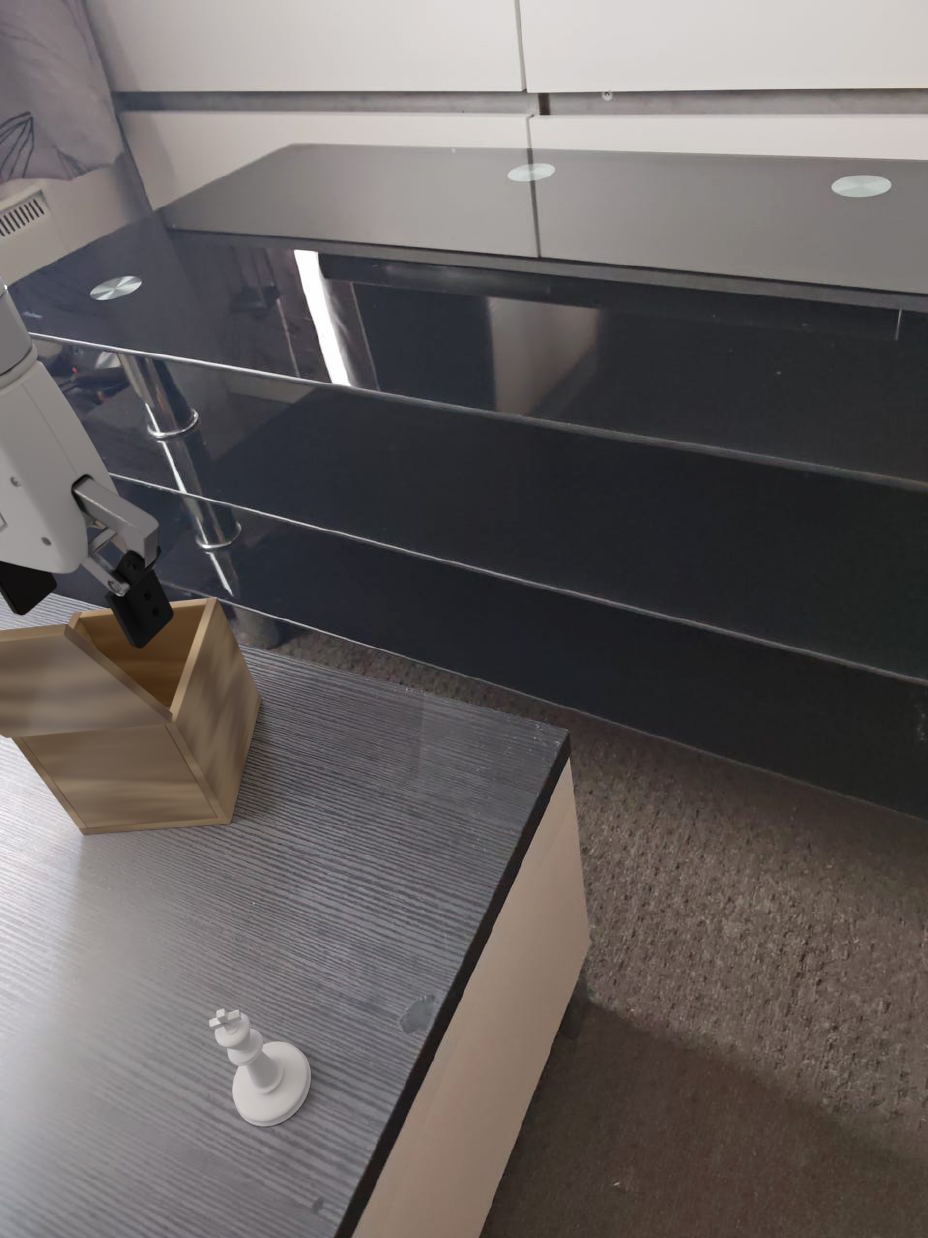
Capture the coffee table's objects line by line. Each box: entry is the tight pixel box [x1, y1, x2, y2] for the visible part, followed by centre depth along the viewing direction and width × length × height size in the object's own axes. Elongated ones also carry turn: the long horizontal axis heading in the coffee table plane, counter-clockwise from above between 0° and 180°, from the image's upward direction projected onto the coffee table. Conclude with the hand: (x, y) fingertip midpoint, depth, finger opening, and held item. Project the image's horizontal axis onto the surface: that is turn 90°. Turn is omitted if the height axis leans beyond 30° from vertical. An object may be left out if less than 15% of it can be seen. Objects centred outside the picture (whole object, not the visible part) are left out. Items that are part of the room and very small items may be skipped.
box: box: [11, 596, 263, 835], centre depth 75 cm, size 14×13×12 cm
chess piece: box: [208, 1008, 312, 1127], centre depth 54 cm, size 5×5×10 cm
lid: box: [0, 623, 173, 739], centre depth 59 cm, size 14×13×1 cm
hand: (93, 615), depth 55 cm, fingers open, 9 cm apart
